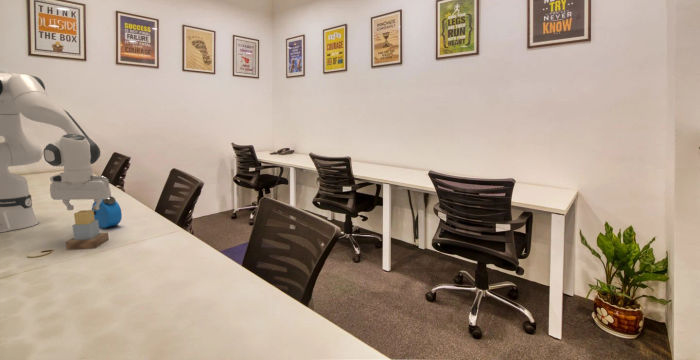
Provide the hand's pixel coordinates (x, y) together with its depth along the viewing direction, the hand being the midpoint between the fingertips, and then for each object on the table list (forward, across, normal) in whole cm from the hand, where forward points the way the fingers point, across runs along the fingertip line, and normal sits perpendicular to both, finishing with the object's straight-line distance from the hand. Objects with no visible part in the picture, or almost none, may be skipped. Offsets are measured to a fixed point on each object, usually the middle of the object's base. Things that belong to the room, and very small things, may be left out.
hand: (83, 209), depth 139 cm
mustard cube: (+5, -2, +3) cm, 6 cm away
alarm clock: (+14, +2, -20) cm, 25 cm away
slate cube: (+11, -2, +3) cm, 11 cm away
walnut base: (+14, -2, +3) cm, 14 cm away
